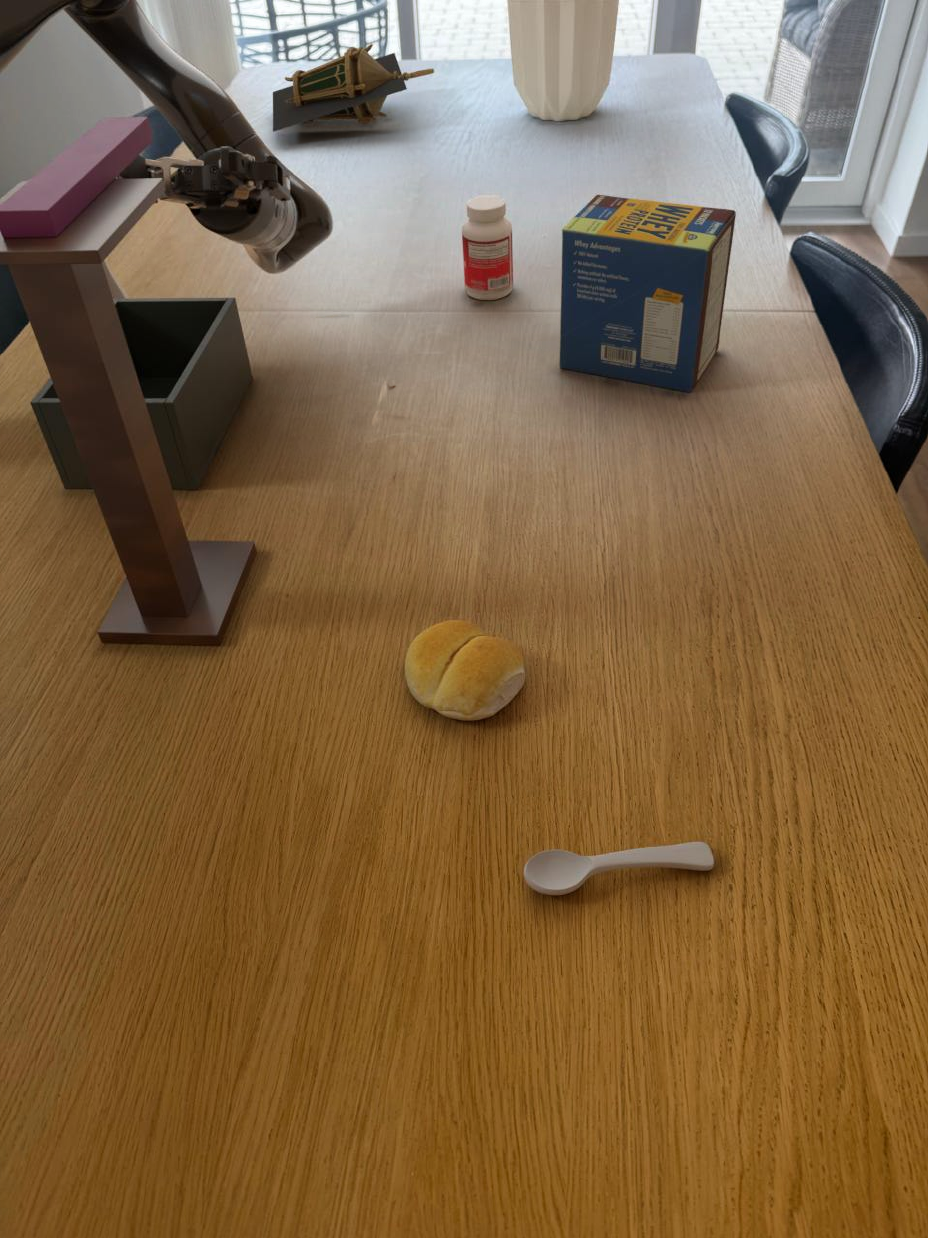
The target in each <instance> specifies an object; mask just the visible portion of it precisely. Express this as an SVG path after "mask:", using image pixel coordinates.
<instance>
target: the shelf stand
mask: <svg viewBox="0 0 928 1238" xmlns="http://www.w3.org/2000/svg"><path fill="white" fill-rule="evenodd" d="M28 181H29V180H21V181H19V182H18V183H17V184H16V185H14V186H13V187H12V188H11V189H10V190H8V192H6V193H5V194H4V195H2V196H1V197H0V205H1V204H2V203H3V202H5V201H6V200H7V199H8V198H9V197H11V196H12V195H13V194H14V193H15V192H16V191H18V190H19V189H20V188H21V187H22V186H24V185H25V184H26V183H27V182H28ZM165 190H166V189H165V185H164V181H163V178H143V179H117V178H115V179H114V180H113V181H112V182H111V183H110V184H109V185H108V186H107V187H106V188H105V189H104V190H103V191H102V192H101V193H100V194H99V195H98V196H97V197H96V198H95V199H94V200H93V201H92V202H91V203H90V204H89V205H88V206H87V207H86V208H85V209H84V210H83V211H82V212H81V213H80V214H79V215H78V216H77V217H76V218H75V219H74V220H73V221H72V222H71V223H70V224H69V225H68V226H67V227H66V228H65V229H64V230H63V231H62V232H61V233H60V234H59V235H58V236H57V237H35V238H3V237H2V234H1V232H0V266H8V268H9V271H10V273H11V277H12V280H13V282H14V284H15V287H16V289H17V292H18V294H19V297H20V300H21V304H22V305H23V308H24V311H25V313H26V316H27V318H28V321H29V324H30V326H31V329H32V332H33V334H34V337H35V340H36V343H37V345H38V348H39V350H40V353H41V355H42V358H43V360H44V364H45V366H46V368H47V371H48V375H49V378H50V377H51V379H52V382H53V385H54V387H55V390H56V393H57V395H58V398H59V401H60V403H61V406H62V408H63V411H64V414H65V416H66V419H67V422H68V424H69V427H70V430H71V432H72V435H73V438H74V440H75V443H76V445H77V448H78V451H79V453H80V456H81V459H82V461H83V464H84V467H85V469H86V472H87V475H88V477H89V480H90V482H91V485H92V488H93V489H92V490H93V494H94V496H95V498H96V500H97V504H98V506H99V509H100V511H101V514H102V516H103V519H104V522H105V524H106V527H107V530H108V532H109V535H110V538H111V541H112V543H113V546H114V548H115V552H116V554H117V556H118V559H119V561H120V564H121V566H122V569H123V572H124V575H125V578H124V580H123V582H122V584H121V586H120V587H119V590H118V591H117V594H116V595H115V597H114V599H113V601H112V602H111V605H110V607H109V608H108V611H107V612H106V614H105V616H104V618H103V620H102V622H101V624H100V626H99V627H98V630H97V631H96V633H97V635H98V638H99V640H100V642H101V643H104V644H107V643H110V644H139V645H140V644H143V645H144V644H145V645H146V644H147V645H176V646H177V645H178V646H214V647H215V646H216V647H217V646H218V647H220V646H221V645H222V642H223V640H224V638H225V635H226V633H227V630H228V627H229V625H230V622H231V619H232V617H233V614H234V613H235V610H236V607H237V604H238V601H239V599H240V597H241V594H242V591H243V589H244V586H245V584H246V580H247V578H248V576H249V573H250V570H251V568H252V565H253V563H254V560H255V558H256V555H257V553H258V551H257V547H256V543H255V541H253V540H252V541H251V540H250V541H247V540H245V541H244V540H189V538H188V535H187V532H186V529H185V525H184V522H183V520H182V515H181V513H180V510H179V507H178V504H177V500H176V497H175V493H174V491H173V490H172V487H171V484H170V481H169V477H168V474H167V471H166V468H165V464H164V461H163V458H162V455H161V452H160V448H159V445H158V442H157V439H156V435H155V432H154V429H153V426H152V423H151V419H150V416H149V413H148V410H147V407H146V403H145V400H144V397H143V394H142V390H141V387H140V384H139V381H138V378H137V374H136V371H135V368H134V365H133V361H132V358H131V355H130V352H129V349H128V345H127V342H126V339H125V336H124V332H123V329H122V326H121V323H120V320H119V316H118V313H117V310H116V307H115V304H114V300H113V297H112V294H111V291H110V287H109V284H108V281H107V278H106V275H105V271H104V268H103V265H102V262H103V261H104V260H106V259H107V258H108V257H109V256H110V254H112V252H113V251H114V250H115V249H116V247H117V246H119V244H120V243H121V242H122V240H124V238H125V237H126V236H127V235H128V234H129V233H130V231H132V229H133V228H134V227H136V225H137V223H138V222H139V221H140V220H141V219H142V218H143V216H144V215H145V214H146V213H147V212H148V211H149V210H150V209H151V208H152V207H153V205H155V204H156V203H155V202H156V200H157V199H158V200H159V197H160V196H161V195H162V193H163V192H164V191H165Z"/></svg>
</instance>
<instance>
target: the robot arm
mask: <svg viewBox="0 0 928 1238" xmlns="http://www.w3.org/2000/svg"><path fill="white" fill-rule="evenodd" d="M62 11H64V12H65V13H66V15H67V16H68V17H69V18H70V19H72V21H73V22H74V23H75V24H76V25H77V26H78V27H79V28H80V29H81V31H82V30H83V32H84V33H85V34H86V35H87V36H88V37H89V38H90V39H91V41H93V42H94V43H95V44H96V45H97V46H98V47H99V48H100V49H101V50H102V51H103V52H104V53H105V54H106V56H108V57H109V59H110V60H111V61H112V62H113V63H114V64H115V65H116V66H117V67H118V68H119V69H120V70H121V71H122V72H123V73H124V74H125V75H126V76H127V77H128V79H129V80H130V81H131V82H132V83H133V84H134V85H135V86H136V87H137V88H138V90H140V91H141V92H142V93H143V95H144V96H145V97H146V98H147V99H148V100H149V101H150V103H151V104H152V105H153V106H154V107H155V108H156V109H157V111H158V112H160V114H161V115H162V116H163V118H164V119H165V120H166V122H167V123H168V124H169V125H170V127H172V128H173V130H174V132H175V133H176V134H177V135H178V136H179V138H180V140H181V141H182V142H183V143H184V145H185V146H186V148H187V149H188V150H189V152H190V153H191V155H192V156H193V157H194V158H191V159H189V160H186V159H182V158H176V157H170V156H162V157H160V158H156V159H155V160H154V159H150V158H145V157H144V156H142V155H141V154H139V155H138V156H137V157H136V158H135V159H134V160H133V161H132V162H131V163H130V164H129V165H128V166H127V167H126V168H125V169H124V170H123V171H122V172H121V173H120V174H119V175H118V176H117V177H116V179H143V178H163V181H164V185H165V189H166V190H165V191H164V192H163V193H162V195H161V196H160V197H159V198H158V199H157V200H156V202H155V203H154V204H158V203H159V200H160V201H162V202H169V203H175V204H176V203H177V204H181V205H185V206H186V207H187V208H188V209H189V211H190V213H191V215H192V216H193V217H194V219H195V220H196V221H197V222H198V224H200V225H201V226H202V227H203V228H204V229H206V230H208V231H209V232H212V233H214V234H216V235H218V236H221V237H223V238H224V239H227V240H228V241H231V242H234V243H236V244H238V245H239V244H240V245H242V246H243V248H244V249H245V251H246V253H247V255H248V257H249V258H250V260H251V261H252V262H253V263H254V264H255V265H256V266H257V267H258V268H259V269H261V271H264V272H265V273H267V274H270V275H278V274H282V273H284V272H287V271H288V270H290V269H291V268H292V267H294V266H295V265H296V264H297V263H299V262H300V261H301V260H303V259H304V258H305V257H307V255H309V254H310V253H311V252H313V251H314V250H315V249H317V248H318V247H320V245H321V244H323V243H324V242H325V241H326V240H327V239H329V238H330V236H331V235H332V232H333V230H334V219H333V214H332V211H331V209H330V206H329V205H328V203H327V202H326V201H325V200H324V198H322V196H321V195H320V194H319V193H318V192H316V191H315V190H314V189H313V188H311V187H310V185H308V184H307V183H306V182H304V181H303V180H302V179H301V178H299V177H298V176H297V175H296V174H294V172H292V171H291V170H290V169H288V167H286V165H285V164H284V163H282V162H281V160H280V159H279V157H276V155H274V154H273V153H272V151H271V150H270V149H269V148H268V147H267V145H266V144H265V143H264V142H263V140H262V139H261V137H260V136H259V135H258V133H257V132H256V131H255V129H254V128H253V127H252V125H251V124H250V122H249V121H248V119H247V118H246V116H245V115H244V114H243V112H242V111H241V110H240V108H239V107H238V105H237V103H235V102H234V100H233V99H232V98H231V96H230V95H229V94H228V93H227V91H225V90H224V88H222V87H221V85H219V83H217V81H215V80H214V79H213V78H212V77H210V76H209V75H207V73H205V72H203V70H201V69H200V68H199V67H197V66H195V65H194V64H192V63H191V62H190V61H188V60H187V59H186V58H184V57H183V56H182V55H180V54H179V53H178V52H177V50H175V49H174V48H173V47H172V46H171V45H169V44H168V43H167V42H166V40H165V39H164V38H163V37H162V36H161V35H160V34H159V32H157V30H156V29H155V27H154V26H153V25H152V24H151V21H150V20H149V19H148V18H147V16H146V14H145V13H144V11H143V9H142V8H141V6H140V4H139V2H138V1H137V0H0V74H2V73H3V72H4V71H5V70H6V68H8V66H10V65H11V63H12V62H13V61H14V60H15V59H16V58H17V56H18V55H19V54H20V53H21V52H22V51H23V50H24V48H25V47H26V46H27V45H28V44H29V43H30V42H31V40H32V39H33V38H34V37H35V35H37V34H38V33H39V31H40V30H41V29H42V28H43V27H44V26H45V25H46V24H47V23H49V21H50V20H51V19H52V18H55V16H56V15H58V14H59V13H61V12H62ZM171 168H174V169H176V170H175V171H174V172H171ZM149 169H151V170H149Z"/></svg>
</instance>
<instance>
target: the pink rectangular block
mask: <svg viewBox="0 0 928 1238" xmlns="http://www.w3.org/2000/svg"><path fill="white" fill-rule="evenodd" d="M152 131H153V130H152V127H151V124H150V119H149V116H124V117H121V116H120V117H102V118H101V119H100V120H99V121H98V122H97V123H95V124H94V125H93V126H92V127H90V129H88V130H87V131H86V132H85V133H84V134H82V135H81V136H80V137H79V138H78V139H76V140H75V141H74V142H73V143H72V144H71V145H69V146H68V147H67V148H66V149H65V150H64V151H62V152H61V153H60V154H59V155H58V156H57V157H55V158H54V159H53V160H52V161H50V163H48V164H47V165H45V167H44V168H42V169H41V170H40V171H39V172H37V173H36V174H35V175H34V176H33V177H32V178H30V179H29V180H27V181H28V182H27V183H26V184H25V185H24V186H22V187H21V188H20V189H19V190H18V191H16V192H15V193H14V194H13V195H12V196H11V197H9V198H8V199H7V200H6V201H5V202H3V203H2V204H1V205H0V232H1V234H2V237H3V238H35V237H57V236H58V235H59V234H60V233H61V232H62V231H63V230H64V229H65V228H66V227H67V226H68V225H69V224H70V223H71V222H72V221H73V220H74V219H75V218H76V217H77V216H78V215H79V214H80V213H81V212H82V211H83V210H84V209H85V208H86V207H87V206H88V205H89V204H90V203H91V202H92V201H93V200H94V199H95V198H96V197H97V196H98V195H99V194H100V193H101V192H102V191H103V190H104V189H105V188H106V187H107V186H108V185H109V184H110V183H111V182H112V181H113V180H114V179H117V176H118V175H119V174H120V173H121V172H122V171H123V170H124V169H125V168H126V167H127V166H128V165H129V164H130V163H131V162H132V161H133V160H134V159H135V158H136V157H137V156H138V155H141V154H142V153H143V151H145V149H147V148H148V146H149V145H150V144H152V142H153V141H154V140H155V139H154V136H153V132H152Z"/></svg>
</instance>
